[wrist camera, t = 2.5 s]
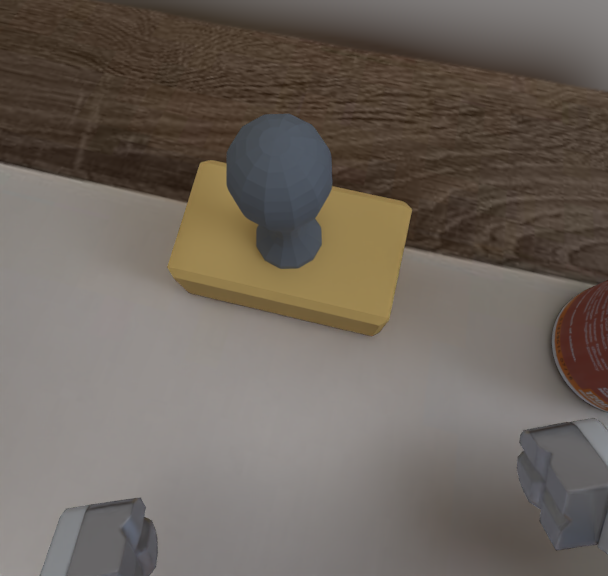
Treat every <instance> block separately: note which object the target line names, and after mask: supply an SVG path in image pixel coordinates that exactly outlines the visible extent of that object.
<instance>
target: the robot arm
mask: <svg viewBox="0 0 608 576" xmlns="http://www.w3.org/2000/svg"><path fill="white" fill-rule="evenodd" d="M519 443H520V445H521V446H522V448H523V450H524V451H523V452H522V453H521V454H520V455H519V456H518V459H517V472H518V477H519V481H520V484H521V487H522V489H523V492H524V493H525V495H526V497H527V499H528V501H529V502H530V503H532V504H533V505H535V506H536V507H538V508H539V509H541V514H540V520H539V521H540V523H541V525H542V526H543V528H544V530H545V532H546V534H547V535H548V537H549V539H550V541H551V542H552V544H553V546H554V548H555V550H563V549H570V548H577V547H583V546H590V545H597V544H598V547H599V548H600V549H601V550H603V551H604V552H605V553H606V554H608V431H607V430H606V428H605V427H604V426H603V425H602V424H601V422H600V421H598V420H597V419H595V418H591V419H585V420H579V421H573V422H565V423H559V424H554V425H549V426H543V427H538V428H533V429H527V430H523V432H522V433H521V435H520V442H519ZM145 509H146V507H145V505H144V503H143V501H142V499H141V498H133V499H126V500H119V501H112V502H105V503H98V504H91V505H86V506H79V507H73V508H67V509H66V510H65V511H64V512H63V514H62V515H61V516H60V518H59V521H58V524H57V527H56V530H55V533H54V536H53V539H52V542H51V545H50V547H49V550H48V553H47V556H46V559H45V562H44V565H43V568H42V571H41V574H40V576H150V574H151V573H152V572H153V571H154V569H155V568H156V563H157V556H158V541H157V534H156V529H155V526H154V524H153V522H152V520H150V519H148V518H146V517H144V515H145Z"/></svg>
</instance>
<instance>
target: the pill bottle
mask: <svg viewBox="0 0 608 576" xmlns="http://www.w3.org/2000/svg"><path fill="white" fill-rule="evenodd" d="M552 349H553V355H554V359H555V362H556V365H557V367H558V370H559V372H560V374H561V375H562V377H563V379H564V380H565V382H566V383H567V384H568V386H569V387H570V388H571V389H572V390H573V391H574V392H575V393H576V394H577V395H578V396H579V397H580V398H582V399H583V400H584V401H586V402H587V403H589V404H591V405H592V406H594V407H596V408H598V409H601V410H603V411H606V412H608V280H607V281H605V282H602V283H600V284H598V285H596V286H593V287H591V288H589V289H587V290H585V291H583V292H581V293H580V294H578V295H577V296H575V297H574V298H572V299H571V300H570V301H569V302H568V303H567V304H566V305H565V306H564V308H563V309H562V310H561V312H560V314H559V315H558V317H557V320H556V322H555V325H554V328H553V334H552Z"/></svg>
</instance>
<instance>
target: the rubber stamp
mask: <svg viewBox="0 0 608 576" xmlns="http://www.w3.org/2000/svg"><path fill="white" fill-rule="evenodd" d="M411 212H412V209H411V208H410V207H409V206H408V205H407V204H406V203H405V202H403V201H398V200H394V199H389V198H385V197H380V196H375V195H371V194H366V193H361V192H357V191H352V190H348V189H343V188H338V187H334V186H332V160H331V153H330V150H329V148H328V147H327V145H326V144H325V142H324V141H323V140H322V138H321V137H320V135H319V134H318V132H317V131H316V129H315V128H314V127H313V126H312V125H311V124H309V123H307V122H305V121H303V120H301V119H299V118H297V117H295V116H293V115H291V114H268V115H263V116H261V117H259V118H257V119H255V120H253V121H252V122H250V123H248V124H246V125H244V126H242V128H241V130H240V131H239V133H238V134H237V136H236V137H235V139H234V141H233V142H232V144H231V145H230V147H229V149H228V151H227V163H223V162H218V161H213V160H209V161H205V162H201V163H200V165H199V168H198V172H197V175H196V178H195V181H194V184H193V187H192V190H191V194H190V197H189V200H188V203H187V206H186V209H185V213H184V216H183V219H182V222H181V225H180V228H179V231H178V235H177V238H176V241H175V244H174V247H173V250H172V254H171V257H170V260H169V263H168V266H167V268H168V269H169V271H170V273H171V274H172V276H173V278H174V279H175V280H176V281H177V282H178V283H179V284H180V285H181V286H182V287H183V288H184V289H185V290H186V291H188V292H189V293H192V294H196V295H200V296H205V297H209V298H213V299H217V300H221V301H226V302H230V303H234V304H238V305H242V306H247V307H251V308H255V309H259V310H264V311H268V312H272V313H276V314H280V315H285V316H289V317H293V318H297V319H302V320H306V321H310V322H314V323H318V324H323V325H327V326H331V327H335V328H339V329H344V330H348V331H352V332H356V333H361V334H365V335H369V336H373V335H375V334H377V333H379V332H380V331H381V330H382V328H383V327H384V326H385V325H386V323H387V322H388V321H389V318H390V313H391V308H392V303H393V299H394V294H395V289H396V284H397V279H398V275H399V270H400V265H401V260H402V255H403V251H404V246H405V241H406V236H407V232H408V227H409V222H410V217H411Z"/></svg>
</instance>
